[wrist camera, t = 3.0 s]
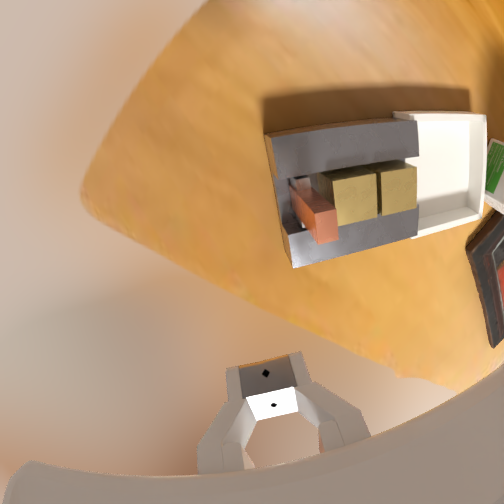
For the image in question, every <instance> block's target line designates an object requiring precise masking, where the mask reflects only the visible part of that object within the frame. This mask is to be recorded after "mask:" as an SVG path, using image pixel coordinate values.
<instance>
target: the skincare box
mask: <svg viewBox="0 0 504 504" xmlns="http://www.w3.org/2000/svg"><path fill="white" fill-rule="evenodd" d="M484 201H485V202H486V203H487V204H488V205H490V206H491V207H493V208H494V209H496V210H497V211H499V212H500V213H502V214H504V142H501V141H499V140H496V139H493V138H491V139H490V142H489V145H488V147H487V165H486V182H485V194H484Z"/></svg>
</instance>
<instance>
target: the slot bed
mask: <svg viewBox="0 0 504 504" xmlns="http://www.w3.org/2000/svg"><path fill="white" fill-rule="evenodd" d="M263 135H264V140H265V145H266V150H267V155H268V160H269V165H270V170H271V175H272V181H273V186H274V192H275V197H276V202H277V208H278V214H279V219H280V225H281V231H282V237H283V242H284V248H285V252H286V254H287V256H288V258H289V261H290V263H291V265H292V267H293V268H297V267H301V266H305V265H309V264H313V263H317V262H321V261H325V260H328V259H332V258H336V257H340V256H344V255H348V254H351V253H355V252H359V251H363V250H366V249H370V248H374V247H378V246H381V245H385V244H389V243H392V242H396V241H399V240H403V239H407V238H410V237H414V236H417V235H418V220H419V204H417V208H415V209H411V210H406V211H402V212H398V213H393V214H389V215H385V216H381V215H380V214H379V213H377V217H376V218H372V219H368V220H363V221H359V222H355V223H351V224H346V225H342V226H338V236H339V240H336V241H332V242H328V243H324V244H320V245H318V244H317V243H316V241H315V240H314V238H313V237H312V236H311V234H310V233H309V231H308V230H307V229H306V227H305V228H302V226H301V225H300V223H299V222H298V221H297V219H296V214H295V212H294V211H293V208H292V202H291V196H290V190H289V185H291V182H290V178H292V177H297V176H302V175H307V176H309V177H310V184H311V187H313V188H314V189H315V190H316V191H317V192H318V193H319V188H318V180H317V172H323V171H328V170H334V169H339V168H345V167H351V166H357V165H363V164H370V163H376V162H383V161H390V160H397V159H398V160H401V161H403V162H405V158H412V157H419V139H418V125H417V121H416V120H406V119H400V118H394V117H390V118H376V119H364V120H354V121H345V122H336V123H328V124H321V125H314V126H307V127H301V128H295V129H289V130H283V131H277V132H272V133H267V134H263Z"/></svg>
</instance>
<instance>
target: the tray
mask: <svg viewBox="0 0 504 504" xmlns="http://www.w3.org/2000/svg"><path fill="white" fill-rule="evenodd" d="M393 117H394V118H400V119H406V120H416V121H417V125H418V139H419V157H412V158H405V162H406V163H408V164H411V165H413V166H416V167H417V204H419V220H418V235H417V236H414V237H410V239H414V238H418V237H421V236H425V235H428V234H431V233H435V232H438V231H442V230H445V229H448V228H452V227H455V226H458V225H462V224H465V223H468V222H472V221H475V220H478V219H481V218H482V212H483V204H484V194H485V182H486V165H487V121H486V115H484V114H479V113H474V112H468V111H396V112H393Z"/></svg>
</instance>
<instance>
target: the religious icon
mask: <svg viewBox="0 0 504 504" xmlns="http://www.w3.org/2000/svg"><path fill="white" fill-rule="evenodd" d="M466 255H467V257H468V260H469V263H470V265H471V269H472V272H473V276H474V279H475V282H476V287H477V291H478V293H479V298H480V301H481V304H482V308H483V314H484V318H485V323H486V329H487V334H488V340H489V343H490V345H491V347H492V348H493V349H494V348H495V347H496V345H498V344H499V343H500V342H501V341H502V340H503V338H504V214H502V213H500V212H499V211H496V212H495V213H494V215H493V216H492V217H491V218H490V220H489V221H488V222H487V223H486V224H485V226H484V227H483V228H482V229H481V230H480V232H479V233H478V234H477V235H476V236H475V238H474V239H473V240H472V241H471V243H470V244H469V245H468V246H467V247H466Z"/></svg>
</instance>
